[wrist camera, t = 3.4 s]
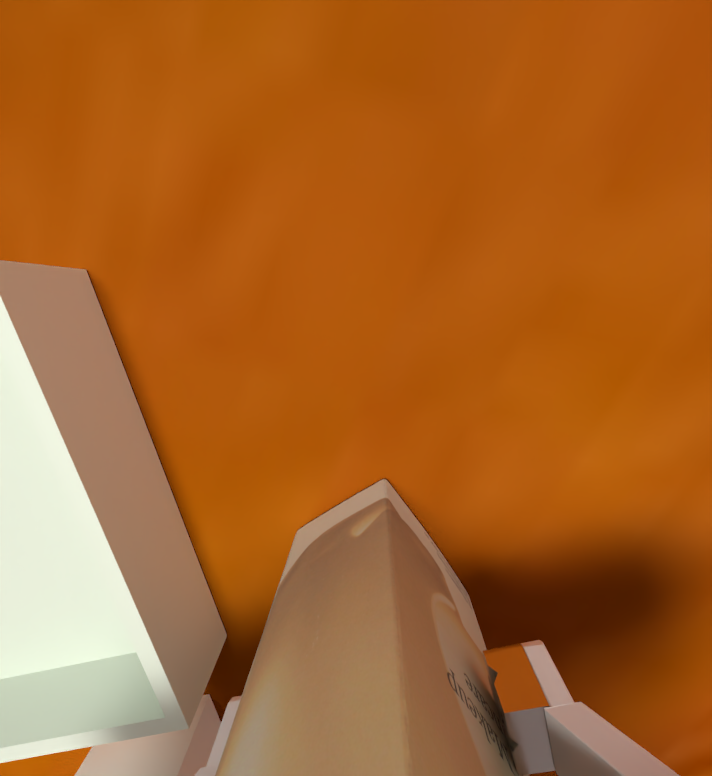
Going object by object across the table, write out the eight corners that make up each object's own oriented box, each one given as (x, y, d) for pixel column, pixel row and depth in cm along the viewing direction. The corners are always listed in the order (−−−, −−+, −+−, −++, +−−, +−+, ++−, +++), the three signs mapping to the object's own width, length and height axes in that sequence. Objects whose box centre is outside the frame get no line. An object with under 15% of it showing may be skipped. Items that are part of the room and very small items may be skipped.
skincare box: (471, 592, 16) (826, 1562, 4) (380, 642, 16) (423, 1610, 4) (381, 467, 14) (462, 1265, 2) (287, 525, 15) (-10, 1390, 3)
